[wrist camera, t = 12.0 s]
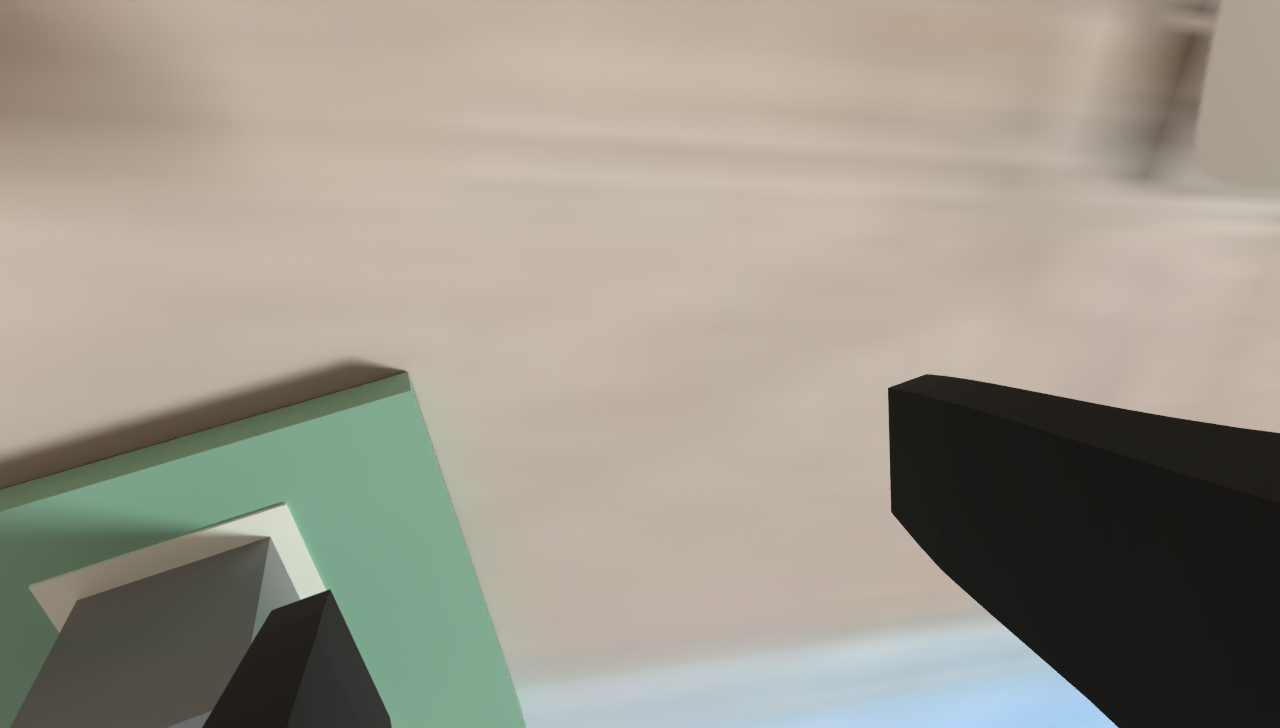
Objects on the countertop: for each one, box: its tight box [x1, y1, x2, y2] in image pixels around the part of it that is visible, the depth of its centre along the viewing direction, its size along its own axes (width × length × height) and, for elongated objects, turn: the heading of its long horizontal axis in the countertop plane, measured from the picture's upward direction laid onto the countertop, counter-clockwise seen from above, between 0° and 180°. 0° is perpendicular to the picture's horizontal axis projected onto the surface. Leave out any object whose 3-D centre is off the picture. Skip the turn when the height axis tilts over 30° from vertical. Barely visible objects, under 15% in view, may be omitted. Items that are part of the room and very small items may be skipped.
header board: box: [0, 372, 526, 728], centre depth 17 cm, size 12×12×4 cm
